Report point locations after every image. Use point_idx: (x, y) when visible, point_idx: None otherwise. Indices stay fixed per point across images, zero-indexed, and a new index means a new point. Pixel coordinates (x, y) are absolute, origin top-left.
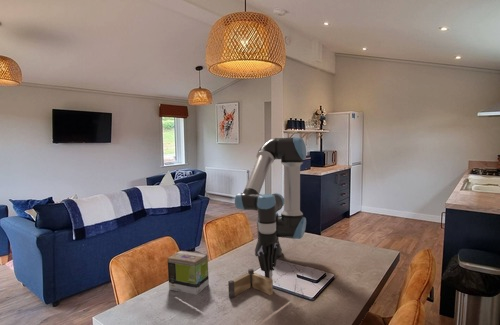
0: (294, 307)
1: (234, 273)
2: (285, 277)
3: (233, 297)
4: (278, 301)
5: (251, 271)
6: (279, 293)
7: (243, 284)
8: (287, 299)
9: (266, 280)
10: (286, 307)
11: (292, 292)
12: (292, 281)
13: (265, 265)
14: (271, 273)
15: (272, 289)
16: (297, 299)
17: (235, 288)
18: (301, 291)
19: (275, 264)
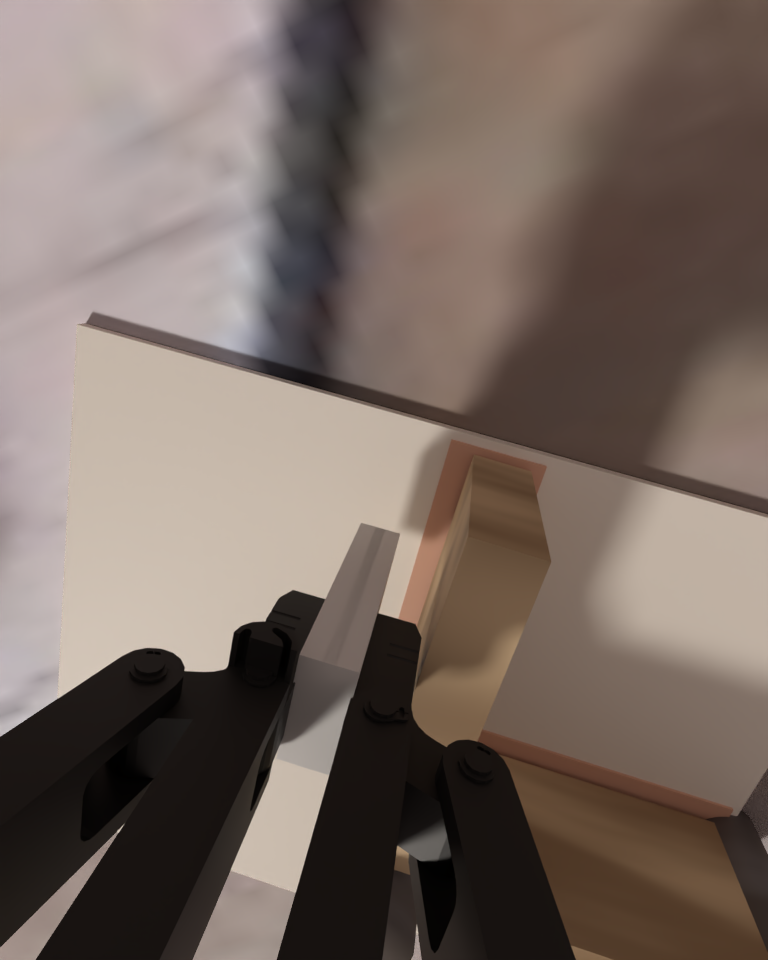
0: (698, 6)
1: (231, 942)
2: (4, 461)
3: (745, 826)
4: (607, 316)
5: (403, 923)
6: (400, 384)
7: (575, 851)
8: (507, 215)
9: (521, 624)
10: (736, 134)
11: (296, 224)
12: (38, 341)
13: (500, 909)
14: (329, 625)
15: (481, 475)
16: (449, 65)
17: (729, 905)
18: (208, 105)
19: (111, 673)
